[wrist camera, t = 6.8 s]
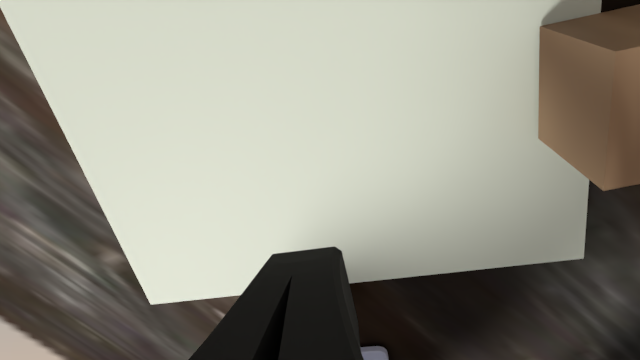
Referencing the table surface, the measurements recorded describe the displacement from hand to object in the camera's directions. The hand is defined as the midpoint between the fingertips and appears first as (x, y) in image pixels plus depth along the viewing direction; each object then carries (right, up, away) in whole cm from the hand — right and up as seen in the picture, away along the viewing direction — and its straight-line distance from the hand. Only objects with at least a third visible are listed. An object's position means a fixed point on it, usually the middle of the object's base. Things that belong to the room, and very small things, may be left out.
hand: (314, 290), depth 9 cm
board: (0, +5, +9) cm, 10 cm away
